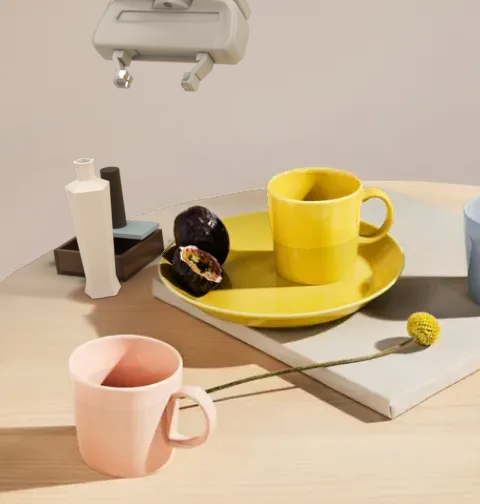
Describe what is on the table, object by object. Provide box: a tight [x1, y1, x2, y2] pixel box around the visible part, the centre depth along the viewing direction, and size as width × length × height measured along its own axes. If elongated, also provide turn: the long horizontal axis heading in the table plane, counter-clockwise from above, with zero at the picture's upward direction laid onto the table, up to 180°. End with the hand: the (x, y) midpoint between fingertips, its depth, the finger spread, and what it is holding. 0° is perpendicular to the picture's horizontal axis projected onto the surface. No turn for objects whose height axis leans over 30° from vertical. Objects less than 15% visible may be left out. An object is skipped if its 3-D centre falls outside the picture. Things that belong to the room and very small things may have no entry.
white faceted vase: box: [64, 157, 122, 300], centre depth 101 cm, size 5×4×15 cm
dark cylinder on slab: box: [99, 166, 160, 240], centre depth 111 cm, size 9×4×8 cm, turn 73°
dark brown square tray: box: [52, 228, 165, 282], centre depth 111 cm, size 9×9×3 cm
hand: (154, 87), depth 117 cm, fingers open, 8 cm apart
